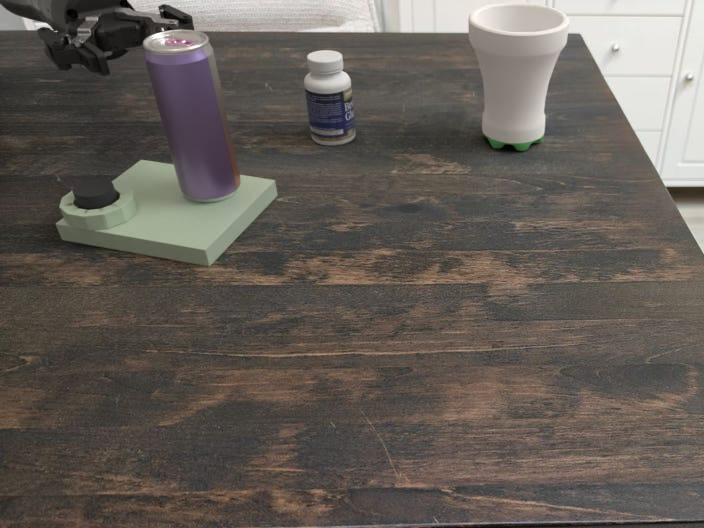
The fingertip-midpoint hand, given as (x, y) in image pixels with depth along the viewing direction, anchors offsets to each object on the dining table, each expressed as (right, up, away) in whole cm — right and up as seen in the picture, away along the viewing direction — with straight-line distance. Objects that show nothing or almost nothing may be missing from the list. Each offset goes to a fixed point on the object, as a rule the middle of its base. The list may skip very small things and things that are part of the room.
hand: (148, 55), depth 73 cm
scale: (+1, -15, +3) cm, 16 cm away
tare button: (-5, -14, -1) cm, 15 cm away
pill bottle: (+15, -3, +18) cm, 23 cm away
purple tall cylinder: (+5, -13, +4) cm, 14 cm away
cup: (+36, -3, +19) cm, 41 cm away
